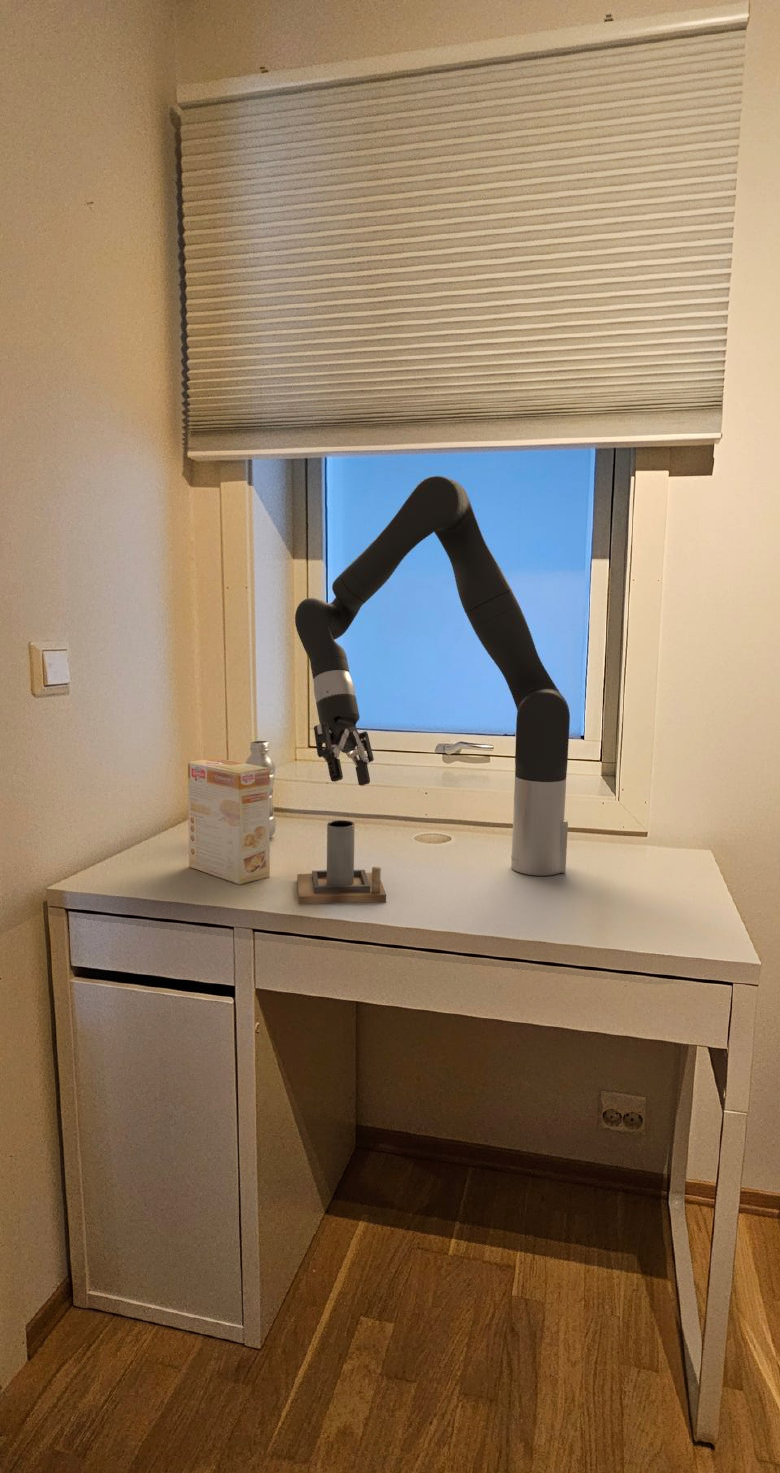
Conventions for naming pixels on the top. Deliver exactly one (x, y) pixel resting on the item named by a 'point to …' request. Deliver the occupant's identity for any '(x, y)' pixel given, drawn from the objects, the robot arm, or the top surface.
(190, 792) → the coffeecake box
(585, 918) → the top surface
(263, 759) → the plastic bottle
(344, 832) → the grey hollow cylinder
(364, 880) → the socket board
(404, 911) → the top surface
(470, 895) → the top surface
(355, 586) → the robot arm
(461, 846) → the top surface
